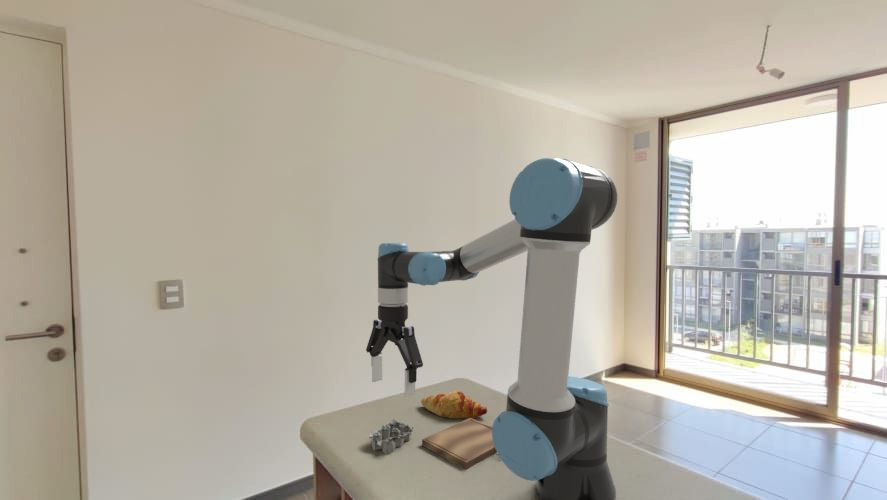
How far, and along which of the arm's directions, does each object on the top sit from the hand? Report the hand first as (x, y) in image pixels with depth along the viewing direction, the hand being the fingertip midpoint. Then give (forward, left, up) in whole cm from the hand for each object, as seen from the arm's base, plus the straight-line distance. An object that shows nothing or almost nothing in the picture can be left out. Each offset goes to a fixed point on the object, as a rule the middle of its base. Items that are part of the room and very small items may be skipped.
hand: (392, 387), depth 105 cm
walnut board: (-14, -13, -14) cm, 24 cm away
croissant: (+2, -24, -14) cm, 28 cm away
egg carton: (0, +1, -14) cm, 14 cm away
